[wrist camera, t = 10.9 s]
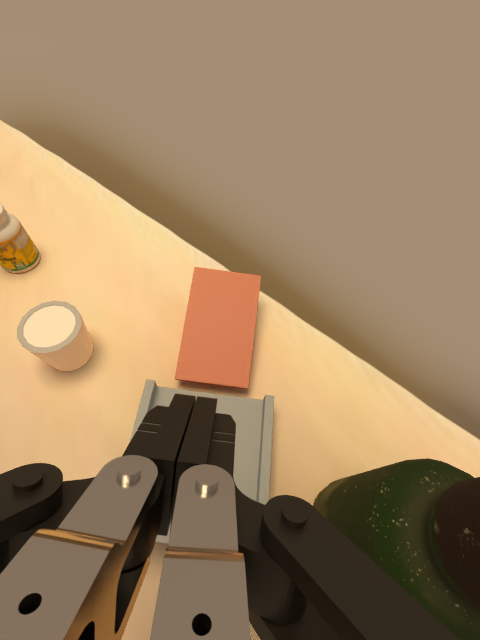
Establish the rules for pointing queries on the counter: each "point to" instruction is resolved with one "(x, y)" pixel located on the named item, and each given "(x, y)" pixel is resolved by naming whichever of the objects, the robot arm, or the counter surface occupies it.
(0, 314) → the counter surface
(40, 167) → the counter surface
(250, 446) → the tray
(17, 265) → the supplement bottle
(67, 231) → the counter surface
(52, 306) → the tan cylinder
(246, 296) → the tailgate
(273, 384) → the counter surface
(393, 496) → the green water bottle
